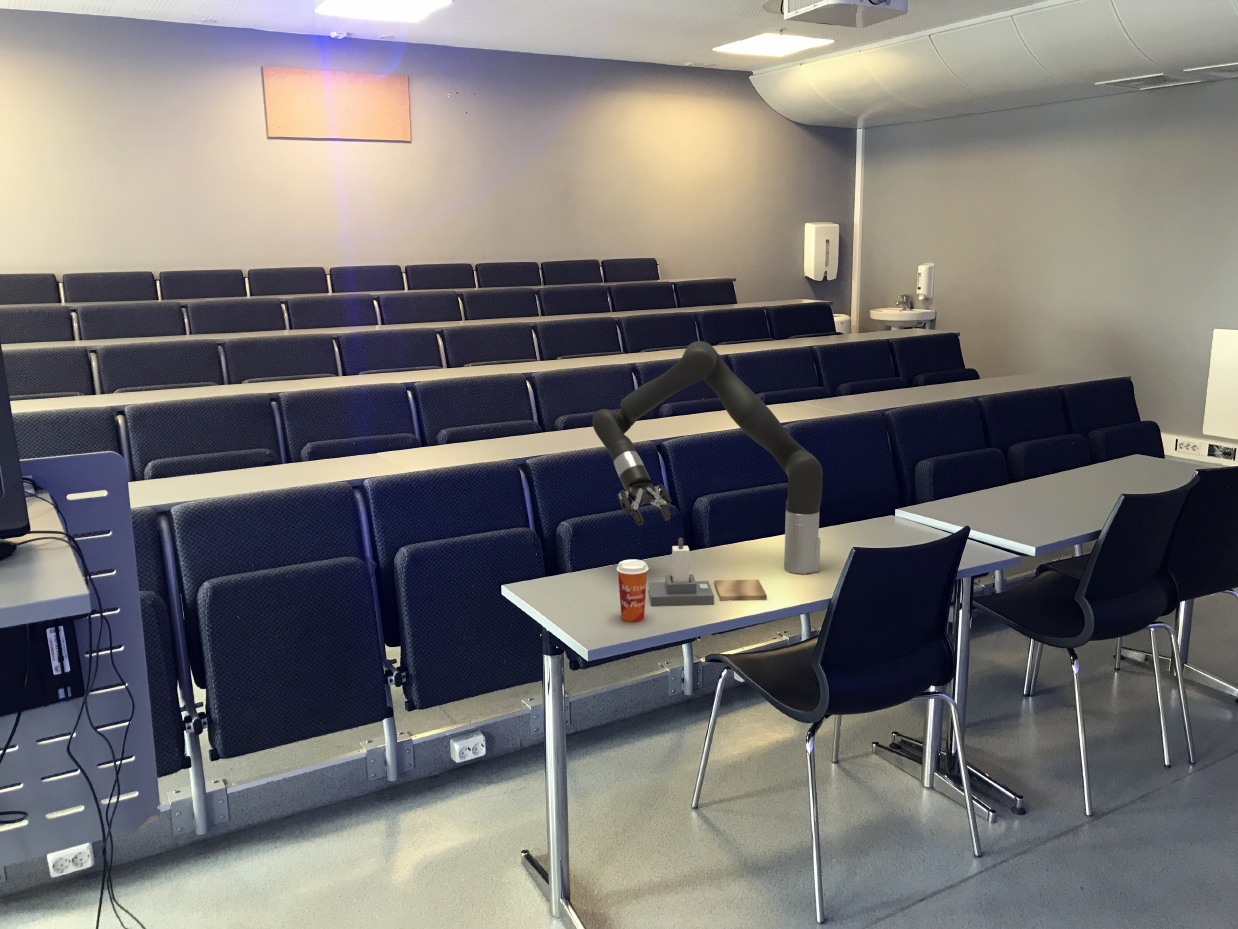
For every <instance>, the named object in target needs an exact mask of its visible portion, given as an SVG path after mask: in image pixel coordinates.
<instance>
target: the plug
mask: <svg viewBox="0 0 1238 929" xmlns="http://www.w3.org/2000/svg"><path fill="white" fill-rule="evenodd" d="M677 541H678V543H677V544H678V545H672V547H671V548H672V549H671V552H672V553H671V556H672V557H671V558H672V559H671V561H672V563H671V565H672V566H671V575H672V583H686V582H689V574H690V548H689V546H688V545H684V539H683V537H679V538H678V540H677Z"/></svg>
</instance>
